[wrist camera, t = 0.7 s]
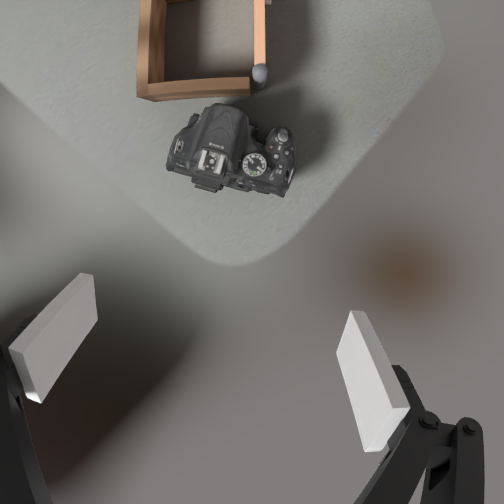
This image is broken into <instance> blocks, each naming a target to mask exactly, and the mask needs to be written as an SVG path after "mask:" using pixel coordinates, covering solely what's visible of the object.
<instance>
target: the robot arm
mask: <svg viewBox="0 0 504 504" xmlns="http://www.w3.org/2000/svg"><path fill="white" fill-rule="evenodd" d="M97 320H98V318H97V311H96V302H95V292H94V281H93V275H90V274H85V273H80V274H79V275H78V276H77V277H76V278H75V279H74V280H73V281H72V282H70V284H68V285H67V286H66V287H65V289H63V290H62V291H61V292H60V293H59V294H58V295H57V296H56V297H55V298H54V299H53V300H52V302H50V303H49V304H48V305H47V307H46V308H45V309H44V310H43V311H42V312H41V313H40V314H39V315H34V314H33V315H32V316H30V317H28V318H26V319H24V320H23V321H22V322H21V324H20V325H19V327H17V328H16V329H15V330H14V332H12V333H11V334H10V335H9V336H8V337H7V338H6V339H5V341H4V342H3V343H2V344H1V345H0V504H53V502H52V500H51V497H50V495H49V492H48V489H47V487H46V484H45V481H44V479H43V476H42V473H41V470H40V467H39V464H38V461H37V458H36V454H35V451H34V448H33V444H32V440H31V437H30V433H29V429H28V425H27V421H26V417H25V413H24V408H23V403H22V399H21V397H20V392H21V391H22V390H23V389H24V391H25V393H26V395H27V398H29V399H31V400H34V401H37V402H39V403H42V402H43V400H44V398H45V397H46V395H47V393H48V392H49V390H50V389H51V387H52V386H53V384H54V383H55V381H56V380H57V378H58V377H59V375H60V374H61V372H62V370H63V369H64V367H65V366H66V364H67V363H68V361H69V360H70V358H71V357H72V356H73V354H74V353H75V351H76V350H77V348H78V347H79V345H80V344H81V342H82V341H83V340H84V338H85V337H86V335H87V334H88V332H89V331H90V330H91V328H92V327H93V326H94V324H95V323H96V321H97ZM336 354H337V357H338V360H339V364H340V367H341V370H342V373H343V377H344V380H345V384H346V387H347V390H348V394H349V398H350V401H351V404H352V408H353V412H354V415H355V418H356V422H357V426H358V429H359V433H360V437H361V440H362V444H363V448H364V452H371V451H381V450H382V449H383V447H384V446H385V445H386V443H388V445H389V449H390V450H389V451H388V453H387V454H386V455H385V456H384V458H383V459H382V460H381V462H380V465H379V467H378V469H377V470H376V472H375V473H374V475H373V476H372V478H371V479H370V481H369V482H368V484H367V485H366V487H365V488H364V490H363V491H362V493H361V494H360V495H359V497H358V498H357V500H356V501H355V502H354V504H408V503H409V501H410V499H411V497H412V495H413V493H414V491H415V489H416V487H417V485H418V483H419V480H420V478H421V476H422V474H423V472H424V470H425V468H426V473H425V480H424V486H423V491H422V497H421V502H420V504H484V445H483V431H482V427H481V426H480V424H479V423H478V422H477V421H475V420H474V419H472V418H467V417H465V418H462V419H460V420H459V422H458V423H457V424H456V425H451V424H445V423H441V421H440V419H439V418H438V417H437V416H436V415H435V414H433V413H432V412H429V411H425V409H424V406H423V404H422V402H421V400H420V398H419V396H418V394H417V392H416V390H415V389H414V386H413V384H412V382H411V380H410V378H409V376H408V374H407V372H405V370H404V369H402V368H401V367H400V366H399V365H391V364H390V362H389V360H388V358H387V356H386V354H385V352H384V350H383V348H382V346H381V344H380V341H379V339H378V337H377V335H376V333H375V332H374V330H373V327H372V325H371V324H370V322H369V320H368V318H367V316H366V314H365V312H362V311H350V314H349V318H348V320H347V323H346V326H345V329H344V332H343V335H342V338H341V341H340V344H339V347H338V349H337V352H336Z"/></svg>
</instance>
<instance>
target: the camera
mask: <svg viewBox="0 0 504 504" xmlns="http://www.w3.org/2000/svg"><path fill="white" fill-rule="evenodd" d="M257 125H258V122H257V121H256V120H255V119H253V118H250V117H248V116H247V115H246V113H245V112H244V111H243V110H242V109H240V108H237V107H234V106H231V105H227V104H221V103H215V104H213V105H211V106H210V107H205V109H204V111H203V113H202V114H200V115H199V114H196V113H194V115H193V116H191V117H190V120H189V123H188V126H187V127H185V128H183V129H182V130H181V131H180V132H179V133H178V134H177V135H176V136H175V137H174V140H173V142H172V145H171V148H170V151H169V154H168V158H167V163H166V169H167V170H168V171H173V172H176V173H180V174H183V175H187V176H190V177H192V180H191V181H192V183H195V184H196V185H195V188H199V189H203V190H207V191H211V192H214V193H216V192H217V191H218V190H222V189H223V186H226V187H230V188H233V189H237V190H241V191H245V192H249V190H250V191H252V190H255V191H257V192H260V193H264V194H270V193H272V194H275V195H278V196H280V197H282V198H283V197H284V196H285V193H286V191H287V190H288V188H289V186H290V183H291V181H292V178H293V175H294V172H295V169H296V145H295V142H294V138H293V136H292V133H291V132H290V130H289V129H287V128H286V127H283V126H279V127H276V128H274V129H272V131H271V132H270V133H269V135H268V136H267V138H266V140H265V141H264V143H263V144H261V143H260V142H259V141H258V138H257V135H258V130H257V129H256V128H257Z"/></svg>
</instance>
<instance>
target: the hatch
mask: <svg viewBox="0 0 504 504" xmlns="http://www.w3.org/2000/svg"><path fill="white" fill-rule="evenodd" d="M265 4H270V5H271V0H254V67H253V69H252V75H253V85H254V87H255V88H257V89H262V88H264V87H265V85H266V79H267V73H268V69H267V67H266V66H265Z"/></svg>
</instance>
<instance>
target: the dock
mask: <svg viewBox="0 0 504 504" xmlns="http://www.w3.org/2000/svg"><path fill="white" fill-rule="evenodd" d="M181 1H190V0H141V3H140V16H139V31H138V52H137V97H139V98H143V99H146V100H150V101H153V102H158V101H168V100H179V99H192V98H208V97H232V96H251V86H250V79H249V77H227V78H206V79H192V80H180V81H170V82H164V60H165V29H166V9H167V3H174V2H181Z"/></svg>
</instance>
